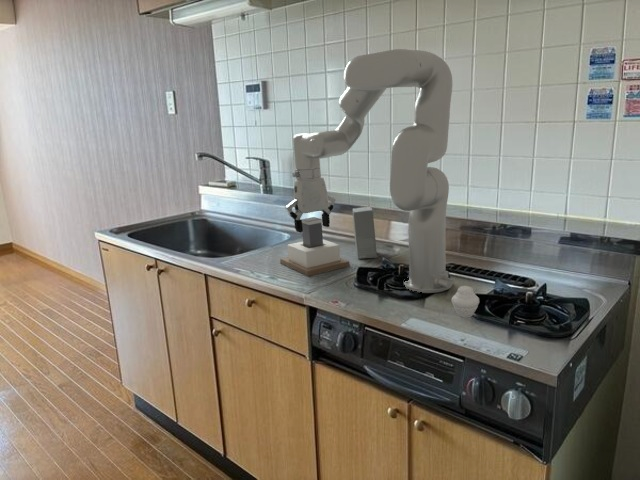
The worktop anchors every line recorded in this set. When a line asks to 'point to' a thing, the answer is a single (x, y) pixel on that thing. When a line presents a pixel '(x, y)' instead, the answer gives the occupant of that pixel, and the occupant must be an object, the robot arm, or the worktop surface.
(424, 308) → the worktop surface
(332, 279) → the worktop surface
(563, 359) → the worktop surface
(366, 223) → the skincare box
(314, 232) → the plug
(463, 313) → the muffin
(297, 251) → the socket
